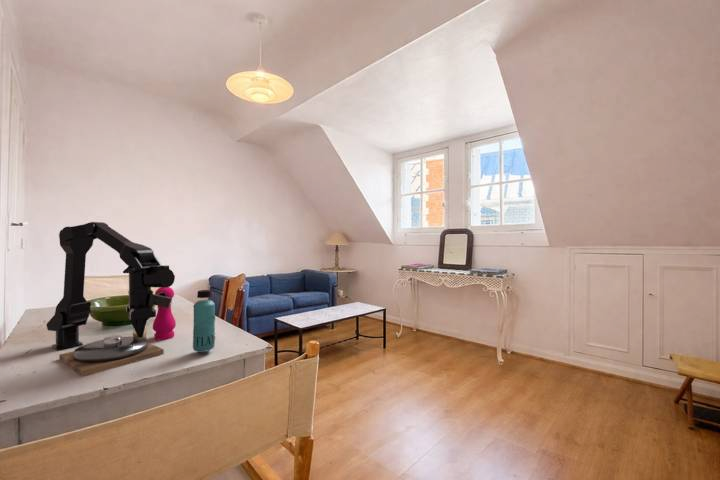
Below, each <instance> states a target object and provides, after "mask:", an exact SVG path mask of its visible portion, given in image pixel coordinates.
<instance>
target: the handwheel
mask: <svg viewBox="0 0 720 480" xmlns="http://www.w3.org/2000/svg"><path fill="white" fill-rule="evenodd" d="M148 343H149V339H148V338H147V325H146V326H145V330H144V334H143V337H140V338H139V337H138V335H137V333H136V331H135V329H134V327H133V326H132V336H122V335H112V336H111V335H109V336H107V337H104V338H103V339H101V340H100V339H99V340H96V341H93V342H88V343H86V344H83V345H80V346H79V347H76V348H75V349H74V350H73V351H74V360H76V361H79V362H102V361H110V360H115V359H120V358H124V357H128V356H131V355H134V354H137V353H139V352H142V351H143V350H145V349H146V348H147V347H148Z"/></svg>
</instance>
